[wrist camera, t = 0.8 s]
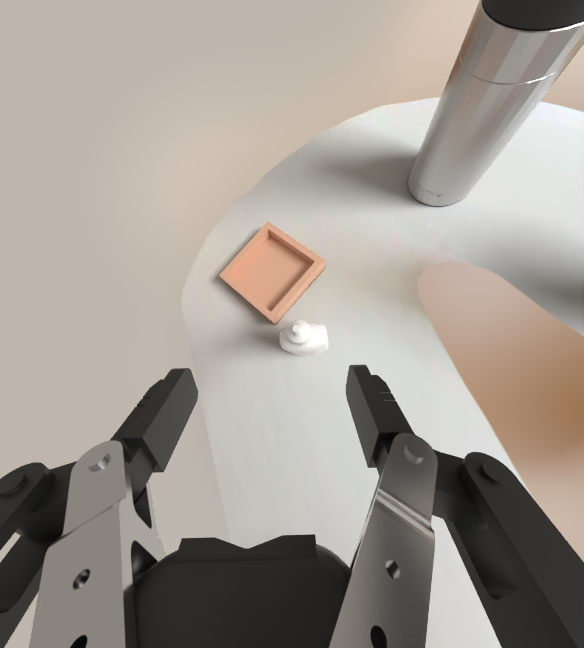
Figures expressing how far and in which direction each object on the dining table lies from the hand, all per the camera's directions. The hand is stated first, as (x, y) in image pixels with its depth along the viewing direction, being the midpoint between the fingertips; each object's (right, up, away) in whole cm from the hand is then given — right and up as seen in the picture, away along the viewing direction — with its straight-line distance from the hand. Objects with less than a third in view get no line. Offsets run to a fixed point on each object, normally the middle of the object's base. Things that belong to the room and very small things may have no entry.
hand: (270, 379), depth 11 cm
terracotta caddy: (-2, +11, +24) cm, 26 cm away
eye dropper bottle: (+4, 0, +20) cm, 21 cm away
